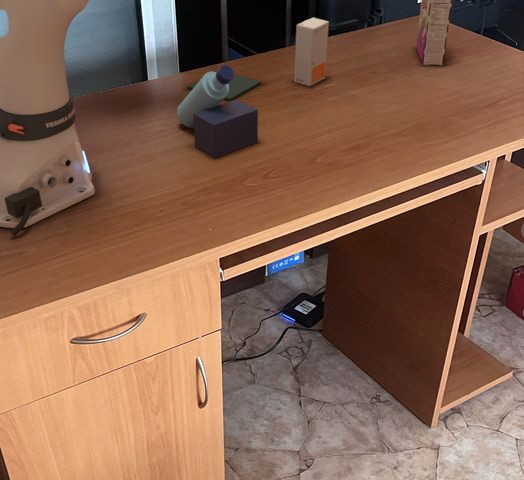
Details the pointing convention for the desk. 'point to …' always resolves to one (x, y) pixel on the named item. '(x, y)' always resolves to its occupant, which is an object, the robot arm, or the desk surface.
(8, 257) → the desk surface
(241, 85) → the rubber mat
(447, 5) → the candy bar box
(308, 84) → the cosmetic box
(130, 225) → the desk surface
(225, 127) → the navy block
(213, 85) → the plastic bottle
